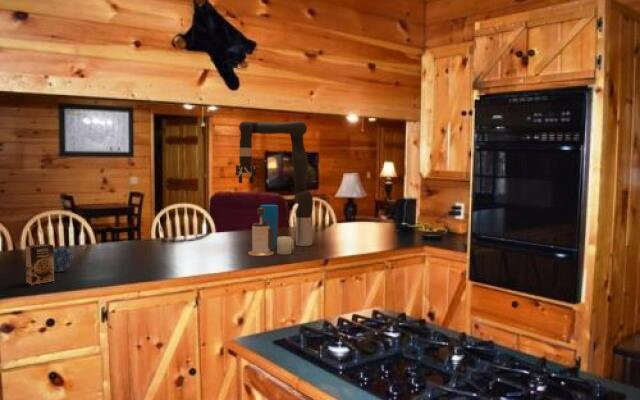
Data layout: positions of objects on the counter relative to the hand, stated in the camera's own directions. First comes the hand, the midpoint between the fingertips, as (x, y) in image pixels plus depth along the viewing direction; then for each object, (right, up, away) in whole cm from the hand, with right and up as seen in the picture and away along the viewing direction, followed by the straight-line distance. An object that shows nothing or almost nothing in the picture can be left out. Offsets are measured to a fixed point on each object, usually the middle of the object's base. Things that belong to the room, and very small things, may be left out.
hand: (245, 183), depth 317 cm
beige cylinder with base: (+11, -40, -17) cm, 45 cm away
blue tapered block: (+13, -38, +5) cm, 41 cm away
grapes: (-77, -43, -67) cm, 111 cm away
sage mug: (+24, -40, -14) cm, 48 cm away
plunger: (+11, -36, -17) cm, 41 cm away
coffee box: (-75, -45, -89) cm, 124 cm away
